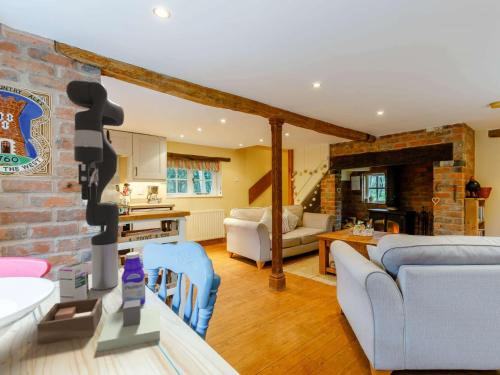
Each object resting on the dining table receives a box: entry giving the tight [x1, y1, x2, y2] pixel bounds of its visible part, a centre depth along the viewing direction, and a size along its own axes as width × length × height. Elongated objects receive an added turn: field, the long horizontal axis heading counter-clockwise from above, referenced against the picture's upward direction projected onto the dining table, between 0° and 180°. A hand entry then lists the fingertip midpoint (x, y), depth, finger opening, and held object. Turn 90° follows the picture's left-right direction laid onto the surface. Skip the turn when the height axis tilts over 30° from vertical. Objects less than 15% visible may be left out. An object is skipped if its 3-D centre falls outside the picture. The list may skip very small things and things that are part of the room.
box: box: [37, 296, 103, 346], centre depth 72 cm, size 12×12×6 cm
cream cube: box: [74, 312, 92, 317], centre depth 71 cm, size 4×4×4 cm
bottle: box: [120, 251, 146, 307], centre depth 87 cm, size 7×6×17 cm
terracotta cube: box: [55, 307, 76, 320], centre depth 74 cm, size 4×4×4 cm
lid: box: [97, 300, 161, 352], centre depth 71 cm, size 14×14×8 cm
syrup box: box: [58, 261, 90, 303], centre depth 85 cm, size 6×6×14 cm
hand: (89, 198), depth 81 cm, fingers open, 8 cm apart
